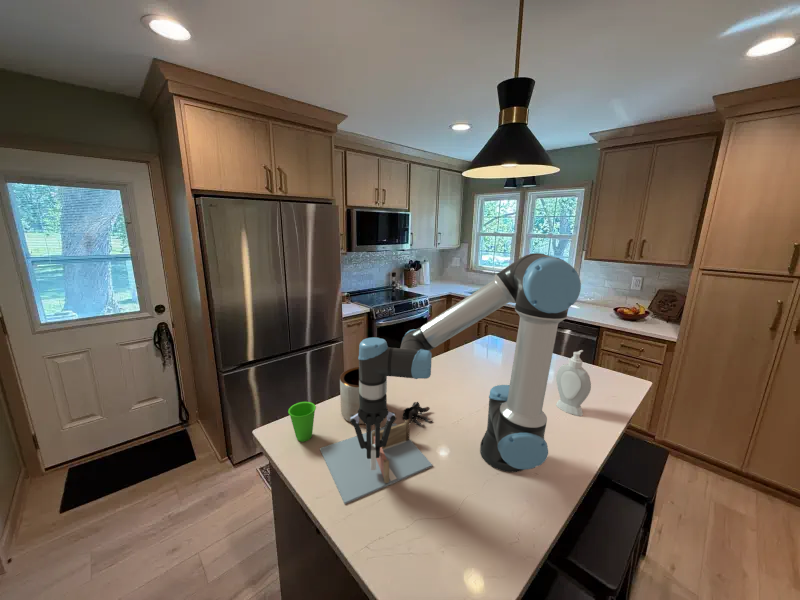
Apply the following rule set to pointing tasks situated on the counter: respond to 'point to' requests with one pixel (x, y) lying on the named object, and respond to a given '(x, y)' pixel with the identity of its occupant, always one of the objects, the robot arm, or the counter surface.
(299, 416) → the cup
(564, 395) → the soap bottle
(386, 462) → the hinged fence panel
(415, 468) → the card
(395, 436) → the fixed fence panel
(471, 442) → the counter surface
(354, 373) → the planter
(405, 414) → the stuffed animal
